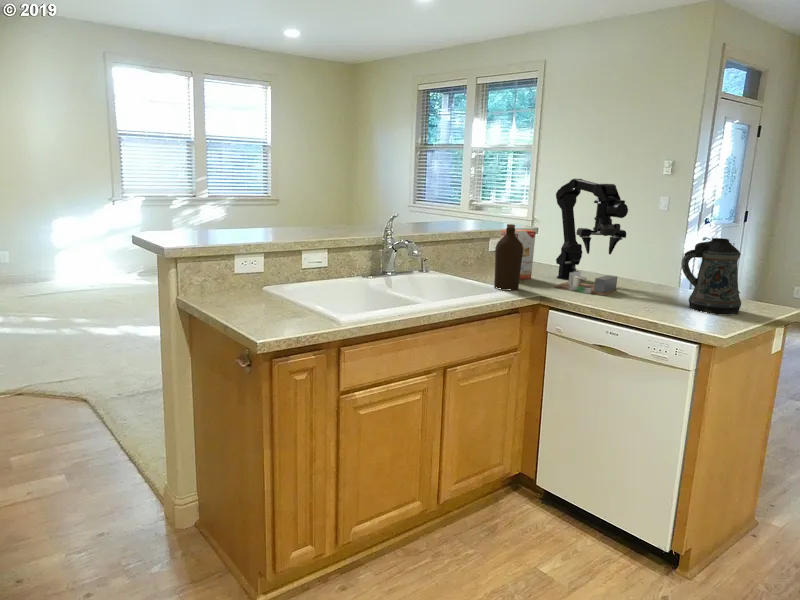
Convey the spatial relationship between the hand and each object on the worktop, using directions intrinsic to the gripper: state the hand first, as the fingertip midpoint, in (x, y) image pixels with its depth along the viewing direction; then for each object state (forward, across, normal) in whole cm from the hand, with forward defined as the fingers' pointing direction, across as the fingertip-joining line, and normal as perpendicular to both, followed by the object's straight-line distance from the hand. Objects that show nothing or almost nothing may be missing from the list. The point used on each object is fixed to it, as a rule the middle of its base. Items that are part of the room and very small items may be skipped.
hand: (598, 254), depth 246 cm
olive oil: (+14, -39, -8) cm, 42 cm away
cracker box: (+14, -30, +16) cm, 36 cm away
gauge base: (+13, -7, -7) cm, 16 cm away
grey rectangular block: (+12, -1, -12) cm, 17 cm away
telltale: (+12, -12, -9) cm, 19 cm away
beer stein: (+13, +25, -40) cm, 49 cm away
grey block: (+12, -10, -5) cm, 16 cm away
